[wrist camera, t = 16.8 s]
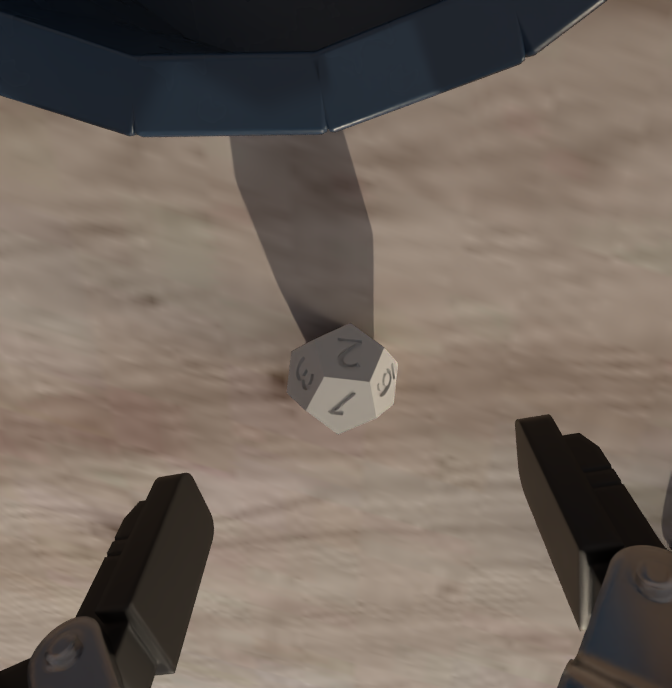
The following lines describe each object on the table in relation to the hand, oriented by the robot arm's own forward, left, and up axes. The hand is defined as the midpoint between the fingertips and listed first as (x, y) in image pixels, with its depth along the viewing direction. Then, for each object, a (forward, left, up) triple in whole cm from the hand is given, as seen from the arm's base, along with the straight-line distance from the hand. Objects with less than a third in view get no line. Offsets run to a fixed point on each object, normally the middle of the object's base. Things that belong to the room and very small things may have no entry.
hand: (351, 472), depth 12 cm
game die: (0, 0, -6) cm, 6 cm away
